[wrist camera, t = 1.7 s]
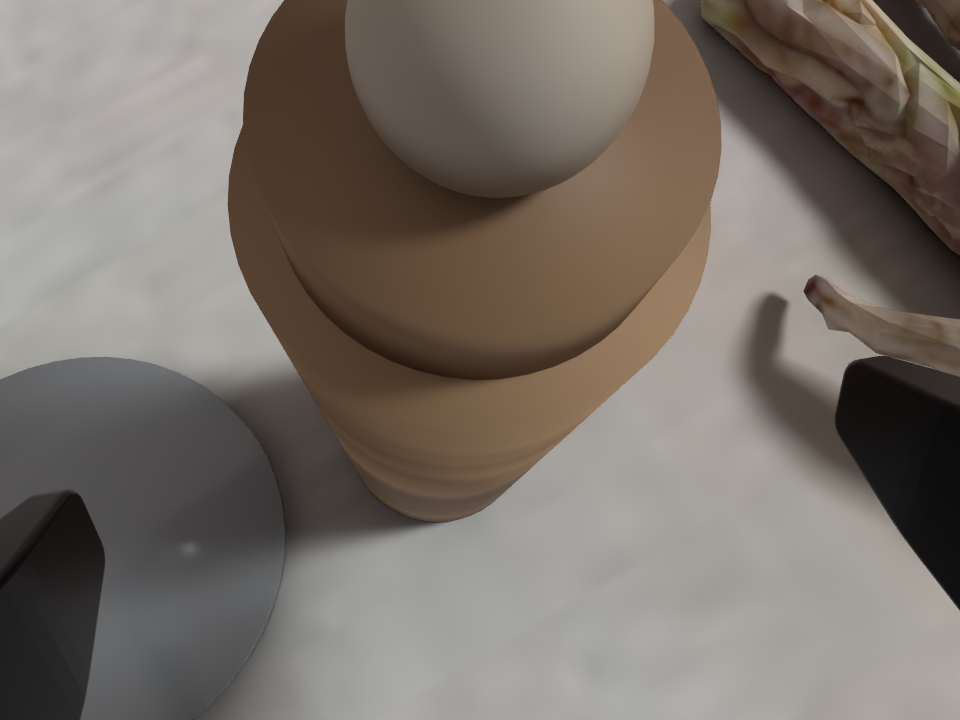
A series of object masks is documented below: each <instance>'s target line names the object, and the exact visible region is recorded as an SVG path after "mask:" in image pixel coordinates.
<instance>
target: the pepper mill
mask: <svg viewBox="0 0 960 720" xmlns="http://www.w3.org/2000/svg"><path fill="white" fill-rule="evenodd" d="M720 155H721V121H720V115H719V109H718V104H717V98H716V94H715V91H714V88H713V84H712V81H711V78H710V75H709V72H708V69H707V67H706V65H705V63H704V61H703V59H702V57H701V54H700V52H699V50H698V48H697V46H696V45H695V43H694V41H693V40H692V38H691V37H690V35H689V34H688V32H687V30H686V29H685V27H684V26H683V24H682V23H681V22H680V20H679V19H678V18H677V17H676V16H675V14H674V13H673V12H672V11H671V10H670V8H669V7H668V6H667V5H666V3H665V2H664V1H663V0H284V2H283V3H282V4H281V6H280V7H279V8H278V9H277V11H276V12H275V13H274V15H273V16H272V18H271V19H270V21H269V23H268V25H267V27H266V29H265V30H264V32H263V34H262V36H261V38H260V40H259V42H258V45H257V47H256V50H255V53H254V55H253V58H252V61H251V64H250V67H249V72H248V77H247V82H246V87H245V92H244V110H243V126H242V129H241V132H240V135H239V137H238V140H237V143H236V146H235V149H234V154H233V159H232V164H231V169H230V174H229V190H228V212H229V222H230V232H231V237H232V241H233V245H234V249H235V253H236V257H237V261H238V264H239V267H240V269H241V271H242V274H243V276H244V279H245V281H246V283H247V286H248V288H249V290H250V293H251V295H252V296H253V298H254V300H255V301H256V303H257V305H258V306H259V308H260V310H261V311H262V313H263V315H264V316H265V318H266V320H267V321H268V323H269V325H270V326H271V328H272V330H273V331H274V333H275V335H276V336H277V338H278V340H279V341H280V343H281V345H282V347H283V348H284V350H285V352H286V353H287V355H288V357H289V358H290V360H291V362H292V363H293V365H294V367H295V368H296V370H297V372H298V373H299V375H300V377H301V378H302V380H303V382H304V383H305V385H306V387H307V388H308V390H309V392H310V394H311V395H312V397H313V399H314V400H315V402H316V404H317V405H318V407H319V409H320V410H321V412H322V414H323V415H324V417H325V419H326V420H327V422H328V424H329V425H330V427H331V429H332V430H333V432H334V434H335V435H336V437H337V439H338V441H339V442H340V444H341V446H342V447H343V449H344V451H345V452H346V454H347V456H348V457H349V459H350V461H351V462H352V464H353V466H354V467H355V469H356V471H357V472H358V474H359V476H360V477H361V479H362V481H363V482H364V484H365V485H366V487H367V488H368V489H369V490H370V492H371V493H372V494H373V495H374V496H375V497H376V498H377V499H378V500H379V501H380V502H382V503H383V504H384V505H386V506H387V507H389V508H390V509H392V510H394V511H396V512H397V513H399V514H401V515H404V516H407V517H409V518H412V519H417V520H421V521H429V522H447V521H453V520H458V519H462V518H465V517H468V516H471V515H473V514H475V513H477V512H479V511H481V510H483V509H484V508H486V507H487V506H489V505H490V504H491V503H493V502H494V501H495V500H496V499H497V498H498V497H499V496H501V495H502V494H503V493H504V492H505V491H506V490H507V489H508V488H509V487H511V486H512V485H513V484H514V483H515V482H516V481H517V480H518V479H519V478H521V477H522V476H523V475H524V474H525V473H526V472H527V471H528V470H529V469H530V468H532V467H533V466H534V465H535V464H536V463H537V462H538V461H539V460H540V459H542V458H543V457H544V456H545V455H546V454H547V453H548V452H549V451H550V450H552V449H553V448H554V447H555V446H556V445H557V444H558V443H559V442H560V441H562V440H563V439H564V438H565V437H566V436H567V435H568V434H569V433H570V432H571V431H573V430H574V429H575V428H576V427H577V426H578V425H579V424H580V423H581V422H583V421H584V420H585V419H586V418H587V417H588V416H589V415H590V414H591V413H593V412H594V411H595V410H596V409H597V408H598V407H599V406H600V405H601V404H602V403H604V402H605V401H606V400H607V399H608V398H609V397H610V396H611V395H612V394H614V393H615V392H616V391H617V390H618V389H619V388H620V387H621V386H622V385H624V384H625V383H626V382H627V381H628V380H629V379H630V378H631V377H632V376H634V375H635V374H636V373H637V372H638V371H639V370H640V369H641V368H642V367H643V366H645V365H646V364H647V363H648V362H649V361H650V360H651V359H652V358H653V357H654V356H655V355H656V354H657V353H658V351H659V350H660V349H661V348H662V347H663V346H664V344H665V343H666V342H667V341H668V340H669V339H670V337H671V336H672V335H673V333H674V332H675V330H676V329H677V327H678V326H679V324H680V322H681V321H682V319H683V318H684V316H685V315H686V313H687V311H688V309H689V307H690V305H691V303H692V300H693V298H694V296H695V294H696V291H697V289H698V287H699V285H700V281H701V278H702V274H703V271H704V267H705V263H706V260H707V255H708V248H709V240H710V232H711V212H710V202H711V198H712V195H713V191H714V188H715V184H716V181H717V177H718V171H719V163H720Z"/></svg>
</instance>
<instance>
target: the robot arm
mask: <svg viewBox="0 0 960 720" xmlns="http://www.w3.org/2000/svg"><path fill="white" fill-rule="evenodd" d="M835 426H836V430H837V433H838V435H839V437H840V439H841V440H842V442H843V444H844V445H845V447H846V448H847V450H848V452H849V453H850V455H851V456H852V458H853V459H854V461H855V463H856V464H857V466H858V467H859V469H860V471H861V472H862V474H863V475H864V477H865V479H866V480H867V482H868V483H869V485H870V486H871V488H872V490H873V491H874V493H875V494H876V496H877V498H878V499H879V501H880V502H881V504H882V506H883V507H884V509H885V510H886V512H887V513H888V515H889V517H890V518H891V520H892V521H893V523H894V524H895V526H896V527H897V529H898V530H899V532H900V533H901V535H902V536H903V537H904V539H905V540H906V541H907V543H908V544H909V546H910V547H911V548H912V550H913V551H914V552H915V554H916V555H917V556H918V557H919V559H920V560H921V561H922V563H923V564H924V565H925V566H926V568H927V569H928V570H929V572H930V573H931V574H932V575H933V577H934V578H935V579H936V581H937V582H938V583H939V584H940V586H941V587H942V588H943V590H944V591H945V592H946V593H947V595H948V596H949V597H950V599H951V600H952V601H953V602H954V604H955V605H956V606H957V608H958V609H959V610H960V377H959V376H956V375H952V374H948V373H945V372H941V371H938V370H934V369H931V368H927V367H923V366H920V365H916V364H913V363H909V362H906V361H902V360H898V359H895V358H891V357H887V356H877V357H871V358H865V359H859V360H854V361H853V362H851V363H850V364H849V365H848V366H847V368H846V369H845V372H844V376H843V380H842V385H841V389H840V394H839V398H838V403H837V407H836V412H835ZM104 571H105V552H104V547H103V544H102V541H101V539H100V537H99V535H98V532H97V530H96V528H95V526H94V523H93V521H92V519H91V517H90V514H89V512H88V510H87V508H86V506H85V503H84V501H83V499H82V497H81V496H80V495H79V494H78V493H77V492H76V491H74V490H72V489H63V490H57V491H51V492H45V493H39V494H34V495H32V496H30V497H28V498H27V499H25V500H24V501H23V502H22V503H20V504H19V505H18V506H16V507H15V508H14V509H12V510H11V511H10V512H8V513H7V514H6V515H4V516H3V517H2V518H0V720H81V716H82V712H83V707H84V703H85V699H86V693H87V688H88V682H89V676H90V669H91V662H92V655H93V648H94V641H95V634H96V627H97V620H98V613H99V606H100V599H101V592H102V585H103V578H104Z"/></svg>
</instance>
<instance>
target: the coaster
mask: <svg viewBox="0 0 960 720" xmlns="http://www.w3.org/2000/svg"><path fill="white" fill-rule="evenodd" d="M63 489H72V490H74V491H76V492H77V493H78V494H79V495H80V496H81V497H82V499H83V501H84V503H85V506H86V508H87V510H88V512H89V514H90V517H91V519H92V521H93V523H94V526H95V528H96V530H97V532H98V535H99V537H100V539H101V541H102V544H103V547H104V552H105V571H104V578H103V585H102V592H101V599H100V606H99V613H98V620H97V627H96V634H95V641H94V648H93V655H92V662H91V669H90V676H89V682H88V688H87V693H86V699H85V703H84V707H83V712H82V716H81V720H193V719H194V718H195V717H196V716H197V715H199V714H200V713H201V712H202V711H203V710H204V709H206V708H207V707H208V706H209V705H210V704H212V703H213V702H214V700H215V699H216V698H217V697H218V696H219V695H220V694H221V693H222V692H223V691H224V690H225V689H226V688H227V686H228V685H229V684H230V683H231V682H232V681H233V680H234V678H235V677H236V676H237V674H238V673H239V671H240V670H241V669H242V667H243V666H244V665H245V663H246V662H247V660H248V659H249V658H250V656H251V654H252V652H253V651H254V649H255V647H256V645H257V644H258V642H259V640H260V638H261V636H262V635H263V633H264V631H265V628H266V626H267V623H268V621H269V619H270V616H271V614H272V611H273V609H274V606H275V603H276V599H277V596H278V592H279V589H280V585H281V581H282V575H283V569H284V562H285V555H286V523H285V514H284V506H283V501H282V497H281V493H280V489H279V485H278V481H277V478H276V476H275V473H274V471H273V468H272V466H271V463H270V461H269V458H268V457H267V455H266V453H265V451H264V450H263V448H262V446H261V445H260V443H259V441H258V439H257V438H256V436H255V435H254V434H253V433H252V431H251V430H250V429H249V428H248V426H247V425H246V424H245V423H244V421H243V420H242V419H241V418H240V417H239V416H238V415H237V414H236V413H235V412H234V411H233V410H232V409H231V408H230V407H228V406H227V405H226V404H225V403H224V402H223V401H222V400H221V399H220V398H218V397H217V396H215V395H214V394H213V393H211V392H210V391H208V390H207V389H206V388H204V387H203V386H202V385H200V384H198V383H196V382H195V381H193V380H191V379H189V378H187V377H185V376H183V375H181V374H179V373H177V372H174V371H171V370H169V369H166V368H163V367H160V366H158V365H154V364H150V363H145V362H141V361H136V360H132V359H122V358H111V357H91V358H76V359H69V360H62V361H55V362H51V363H48V364H44V365H40V366H36V367H32V368H29V369H26V370H24V371H21V372H18V373H16V374H13V375H11V376H8V377H6V378H3V379H1V380H0V518H2V517H3V516H4V515H6V514H7V513H8V512H10V511H11V510H12V509H14V508H15V507H16V506H18V505H19V504H20V503H22V502H23V501H24V500H25V499H27V498H28V497H30V496H32V495H34V494H39V493H45V492H51V491H57V490H63Z"/></svg>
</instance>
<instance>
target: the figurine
mask: <svg viewBox="0 0 960 720" xmlns="http://www.w3.org/2000/svg"><path fill="white" fill-rule="evenodd" d="M915 1H916V2H917V3H919V4H920V5H922V6H923V7H924V8H926V10H927V11H928V13H929V14H930V15H931V17H932V18H933V20H934V21H935V23H936V24H937V26H938V27H939V29H940V30H941V32H942V33H943V35H944V36H945V37H946V39H947V40H948V42H949V43H950V44H951V45H952V46H954V47H955V48H956V49H958V50H959V51H960V0H915ZM701 17H702V18H703V19H704V20H705V21H706V22H708V23H709V24H710V25H711V26H712V27H713V28H714V29H715V30H716V31H717V32H719V33H720V34H721V35H722V36H723V37H724V38H725V39H726V40H727V41H729V42H730V43H731V44H732V45H733V46H734V47H735V48H736V49H737V50H739V51H740V52H741V53H742V54H743V55H744V56H745V57H746V58H747V59H749V60H750V61H751V62H752V63H753V64H754V65H755V66H756V67H758V68H759V69H760V70H762V71H764V72H765V73H767V74H769V75H771V76H772V78H773V79H774V81H775V82H776V83H777V84H778V85H779V86H780V87H781V88H782V89H783V90H784V91H785V92H786V93H787V94H788V95H789V96H790V97H791V98H792V99H793V100H794V101H795V102H796V103H797V104H798V105H799V106H800V107H801V108H802V109H803V110H804V111H805V112H807V113H808V114H809V115H810V116H811V117H812V118H813V119H815V120H816V121H817V122H818V123H820V124H821V125H822V126H823V127H824V128H825V129H826V130H827V131H828V132H829V133H830V134H831V135H832V136H833V137H834V138H835V140H836V141H838V142H839V143H840V144H841V145H842V146H843V147H844V148H845V149H846V150H848V151H849V152H850V153H851V154H852V155H853V156H854V157H855V158H856V159H858V160H859V161H860V162H861V163H863V164H864V165H865V166H866V167H868V168H869V169H870V170H871V171H873V172H874V173H875V174H876V175H878V176H879V177H880V178H881V179H883V180H884V181H885V182H886V183H888V184H889V185H890V186H891V187H893V188H894V189H895V190H896V191H897V192H898V193H899V194H900V195H901V197H902V198H903V199H904V200H905V201H906V202H907V203H908V204H909V205H910V206H911V207H912V208H913V209H914V210H915V211H916V212H917V214H918V215H919V216H920V217H921V218H922V220H923V221H924V222H925V223H926V224H927V225H928V226H929V227H930V228H931V229H932V230H933V231H934V233H935V234H936V235H937V236H938V237H939V238H940V239H941V240H942V241H943V242H944V243H945V244H946V245H947V246H948V247H949V248H950V250H952V251H953V252H955V253H956V254H958V255H960V83H959V82H958V81H956V80H955V79H954V78H953V77H952V76H951V75H950V74H948V73H947V72H946V71H945V70H944V69H943V68H942V67H940V66H939V65H938V64H937V63H936V62H935V61H934V60H932V59H931V58H930V57H929V56H928V55H927V54H926V53H924V52H923V51H922V50H921V49H920V48H919V47H918V46H916V45H915V44H914V43H913V42H912V41H911V40H910V39H909V38H908V37H907V36H906V35H905V34H904V33H903V32H902V31H901V30H900V29H899V28H898V27H897V26H896V25H895V24H894V23H893V21H892V20H891V19H890V18H889V17H888V16H887V15H886V14H885V13H884V12H883V11H882V10H881V9H880V8H879V7H878V6H877V5H876V4H875V2H874V1H873V0H701ZM804 293H805V295H806V297H807V299H808V300H809V301H810V302H811V303H812V304H813V305H814V306H815V307H816V308H817V309H818V310H819V311H820V312H821V313H822V314H823V317H824V319H825V322H826V324H827V327H828V329H831V330H838V331H845V332H850V333H851V334H852V335H854V336H855V337H856V338H858V339H859V340H860V341H861V342H863V343H864V344H865V345H866V346H868V347H869V348H870V349H872V350H873V351H874V352H875V353H878V354H881V355H885V356H889V357H893V358H897V359H901V360H905V361H909V362H913V363H917V364H920V365H924V366H928V367H932V368H935V369H937V370H938V371H941V372H945V373H948V374H952V375H956V376H959V377H960V319H953V318H945V317H938V316H930V315H923V314H915V313H908V312H901V311H896V310H890V309H885V308H880V307H876V306H873V305H871V304H869V303H866V302H864V301H862V300H859V299H857V298H856V297H855V296H853V295H852V294H851V293H850V292H849V291H848V290H847V289H846V288H844V287H843V286H842V285H841V284H840V283H839V282H838V281H834V280H831V279H828V278H824V277H821V276H818V275H815V276H813V277H812V278H810V279H809V280H808V282H807V284H806V287H805V289H804Z"/></svg>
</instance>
